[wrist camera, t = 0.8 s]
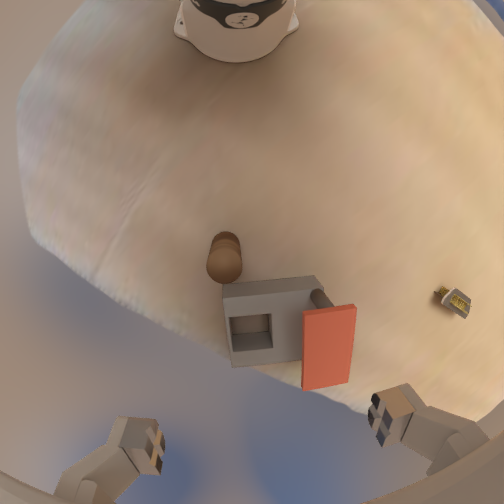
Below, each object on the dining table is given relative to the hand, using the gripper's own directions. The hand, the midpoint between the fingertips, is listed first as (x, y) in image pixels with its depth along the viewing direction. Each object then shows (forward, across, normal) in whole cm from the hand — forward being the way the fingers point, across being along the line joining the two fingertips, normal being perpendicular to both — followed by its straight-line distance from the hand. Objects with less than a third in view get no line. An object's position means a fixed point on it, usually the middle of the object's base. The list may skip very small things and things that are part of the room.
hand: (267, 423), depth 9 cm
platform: (+34, -40, +15) cm, 55 cm away
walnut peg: (+34, +2, +1) cm, 34 cm away
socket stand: (+34, -4, +13) cm, 36 cm away
